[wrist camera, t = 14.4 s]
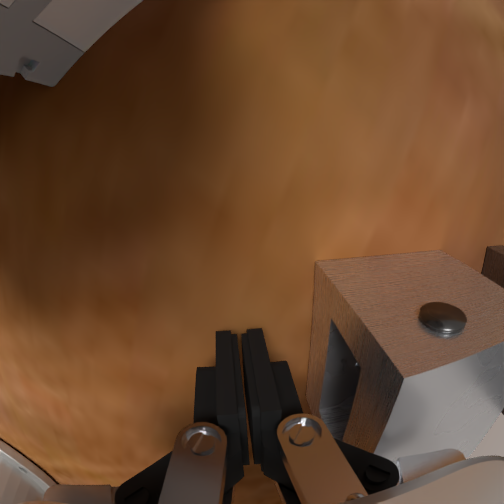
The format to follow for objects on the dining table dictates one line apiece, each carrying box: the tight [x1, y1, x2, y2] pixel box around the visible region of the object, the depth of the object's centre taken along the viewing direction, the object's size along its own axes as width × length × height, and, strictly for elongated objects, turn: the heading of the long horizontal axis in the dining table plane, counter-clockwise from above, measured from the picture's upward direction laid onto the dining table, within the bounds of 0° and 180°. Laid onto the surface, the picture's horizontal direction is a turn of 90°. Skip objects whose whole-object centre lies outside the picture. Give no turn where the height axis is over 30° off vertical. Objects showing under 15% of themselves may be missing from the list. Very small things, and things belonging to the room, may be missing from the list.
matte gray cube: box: [306, 250, 504, 461], centre depth 9 cm, size 7×6×6 cm
